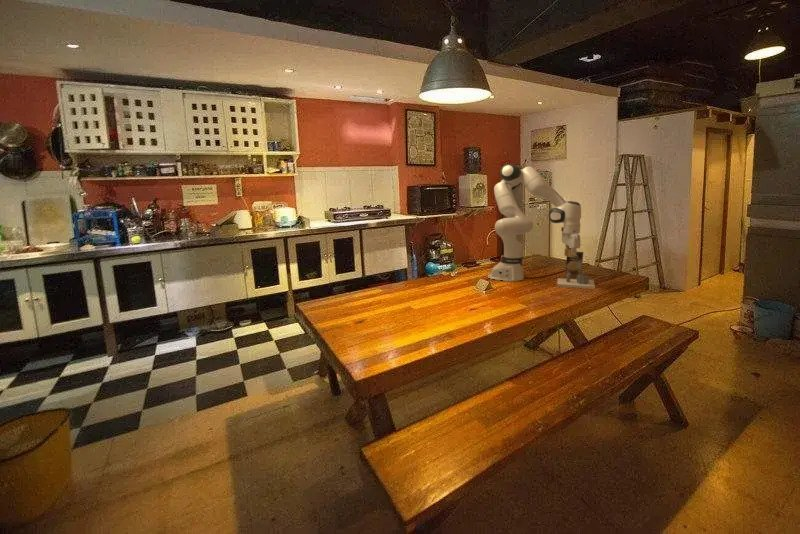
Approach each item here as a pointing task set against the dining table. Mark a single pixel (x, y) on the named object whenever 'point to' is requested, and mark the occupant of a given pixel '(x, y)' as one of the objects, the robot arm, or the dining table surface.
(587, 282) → the gear board
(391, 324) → the dining table surface
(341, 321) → the dining table surface
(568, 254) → the brass gear
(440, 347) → the dining table surface
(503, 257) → the robot arm
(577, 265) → the coffee box
